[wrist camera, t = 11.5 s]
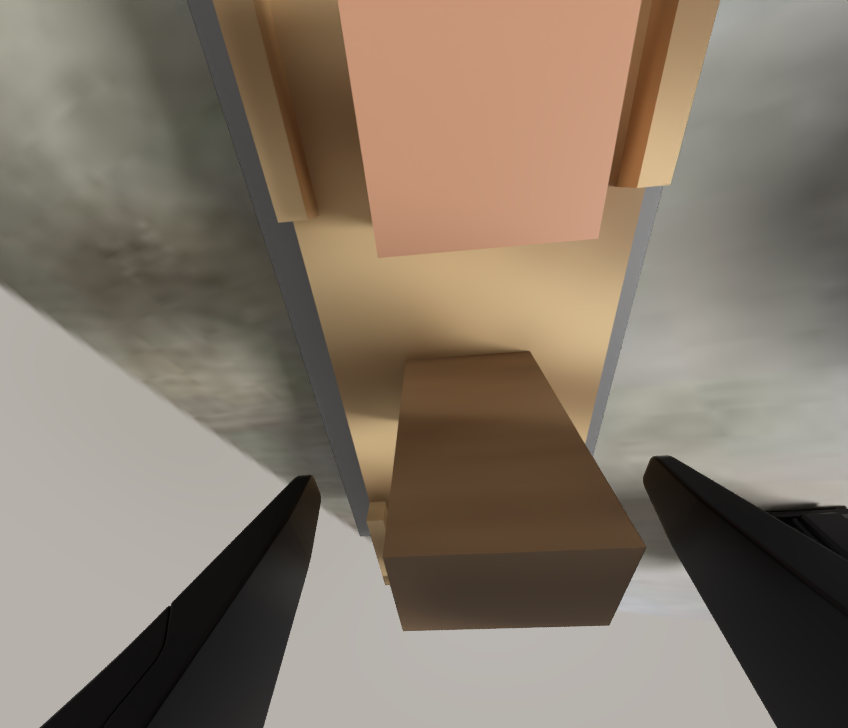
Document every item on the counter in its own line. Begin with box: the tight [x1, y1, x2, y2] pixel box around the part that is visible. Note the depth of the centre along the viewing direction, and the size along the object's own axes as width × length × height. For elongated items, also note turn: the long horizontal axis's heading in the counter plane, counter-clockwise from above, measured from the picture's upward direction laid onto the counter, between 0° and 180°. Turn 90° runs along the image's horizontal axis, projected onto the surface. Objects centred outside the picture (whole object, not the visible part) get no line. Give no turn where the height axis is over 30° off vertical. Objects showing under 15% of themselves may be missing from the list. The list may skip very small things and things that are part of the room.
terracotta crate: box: [338, 0, 642, 258], centre depth 6 cm, size 4×4×4 cm
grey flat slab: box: [187, 0, 663, 536], centre depth 15 cm, size 26×14×3 cm, turn 5°
